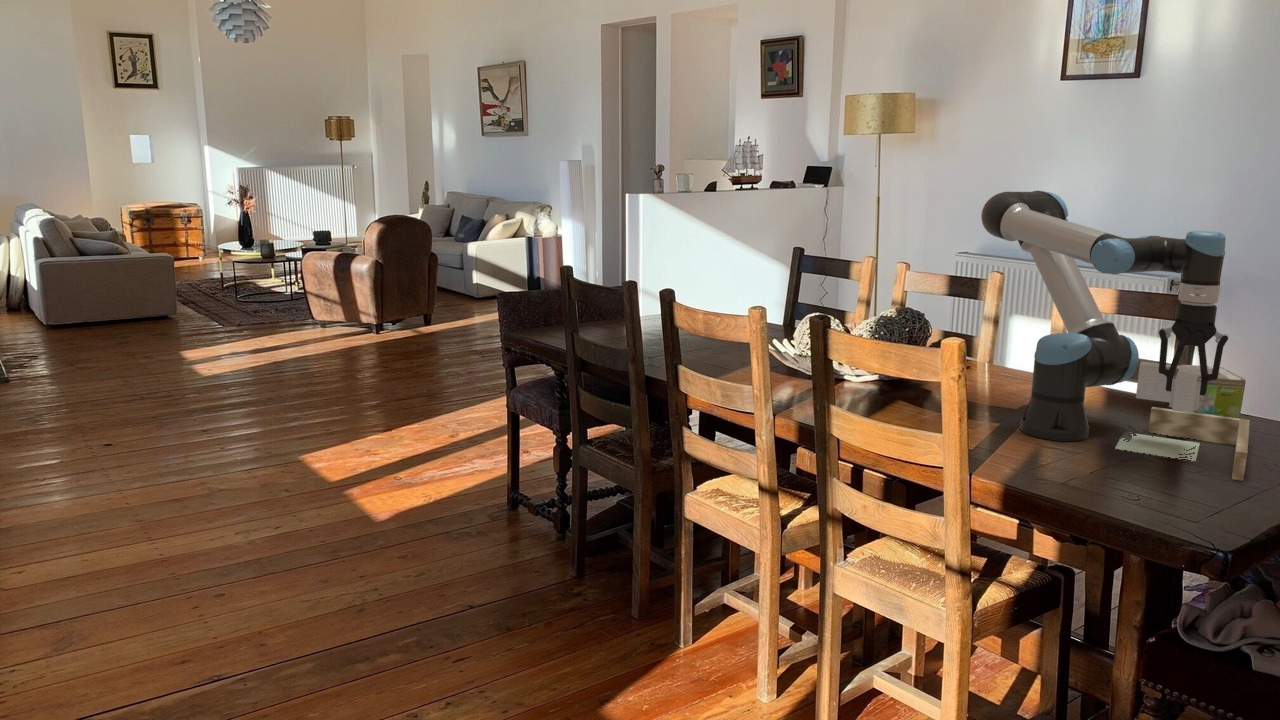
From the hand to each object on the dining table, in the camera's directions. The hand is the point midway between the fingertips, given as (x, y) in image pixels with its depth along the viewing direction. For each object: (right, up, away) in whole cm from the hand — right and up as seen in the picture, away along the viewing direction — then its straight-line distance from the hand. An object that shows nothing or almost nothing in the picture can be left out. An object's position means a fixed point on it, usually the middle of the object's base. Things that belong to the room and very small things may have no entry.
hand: (1183, 407), depth 215 cm
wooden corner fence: (+3, -11, +2) cm, 11 cm away
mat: (-2, -9, +7) cm, 12 cm away
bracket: (-2, +1, +5) cm, 5 cm away
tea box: (+17, -7, +21) cm, 28 cm away
